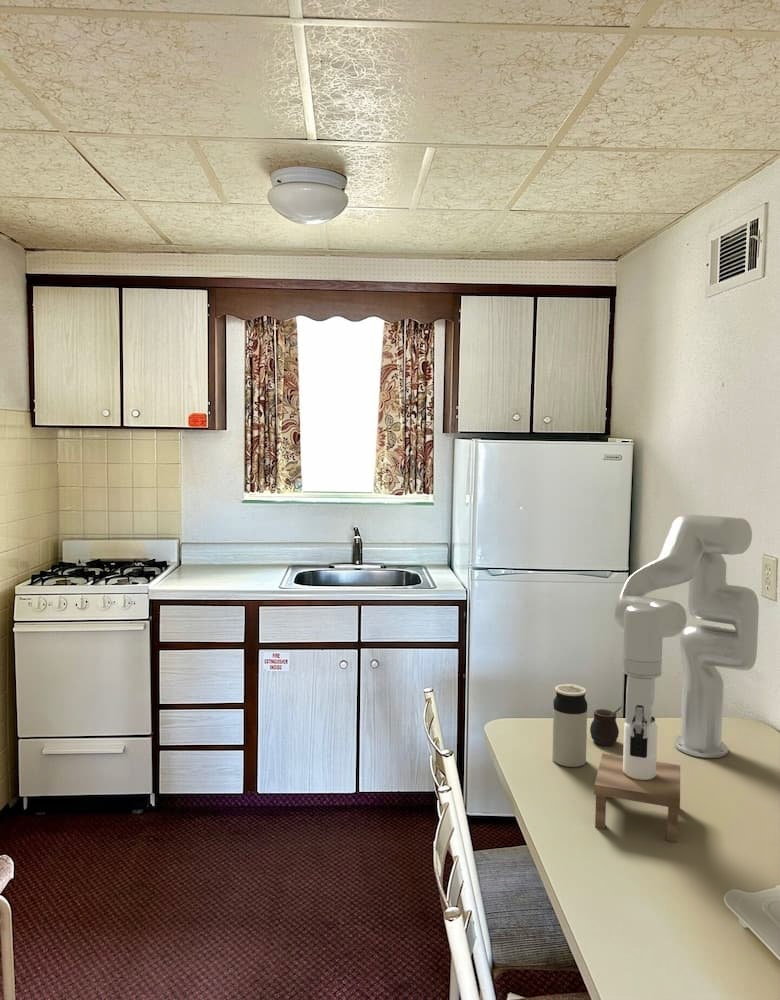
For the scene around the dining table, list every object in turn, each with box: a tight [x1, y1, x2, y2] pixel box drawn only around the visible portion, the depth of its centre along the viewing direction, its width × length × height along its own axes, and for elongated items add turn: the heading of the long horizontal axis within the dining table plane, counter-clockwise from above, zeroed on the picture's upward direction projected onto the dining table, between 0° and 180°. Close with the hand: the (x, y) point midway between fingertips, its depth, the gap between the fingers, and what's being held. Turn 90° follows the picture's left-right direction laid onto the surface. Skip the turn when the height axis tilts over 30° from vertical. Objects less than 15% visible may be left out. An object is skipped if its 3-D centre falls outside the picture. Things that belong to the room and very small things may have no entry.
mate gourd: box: [589, 706, 623, 746], centre depth 191 cm, size 7×8×10 cm
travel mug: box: [551, 683, 588, 768], centre depth 179 cm, size 8×8×18 cm
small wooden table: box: [593, 753, 681, 843], centre depth 153 cm, size 16×16×9 cm
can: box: [622, 715, 658, 781], centre depth 152 cm, size 6×6×12 cm
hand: (639, 746), depth 152 cm, fingers open, 9 cm apart
